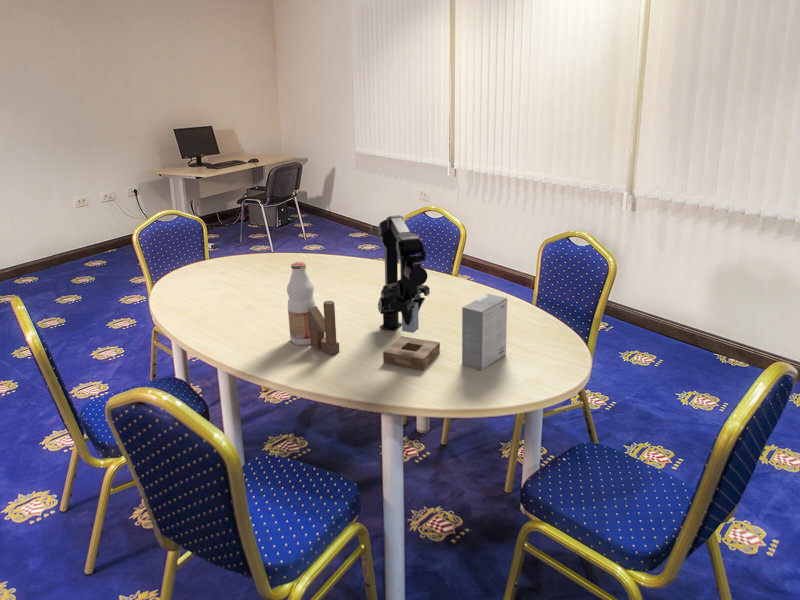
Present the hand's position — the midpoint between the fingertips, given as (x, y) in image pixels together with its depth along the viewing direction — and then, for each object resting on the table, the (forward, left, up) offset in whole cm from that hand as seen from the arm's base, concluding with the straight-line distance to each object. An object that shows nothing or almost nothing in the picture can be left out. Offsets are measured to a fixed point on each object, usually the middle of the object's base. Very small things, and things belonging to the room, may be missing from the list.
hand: (410, 322), depth 202 cm
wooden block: (+5, -30, -13) cm, 33 cm away
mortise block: (0, 0, -13) cm, 13 cm away
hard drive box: (-8, +22, -13) cm, 27 cm away
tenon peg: (0, 0, -3) cm, 2 cm away
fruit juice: (+1, -41, -13) cm, 43 cm away
